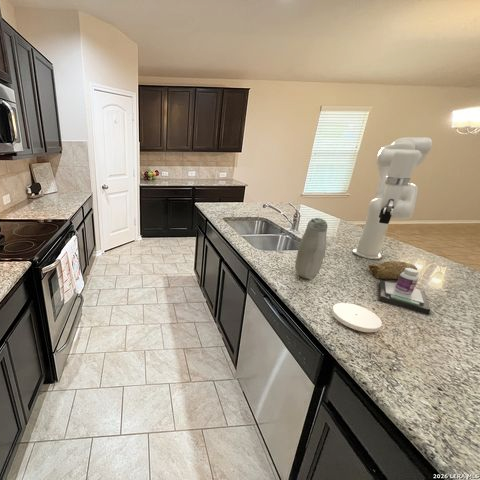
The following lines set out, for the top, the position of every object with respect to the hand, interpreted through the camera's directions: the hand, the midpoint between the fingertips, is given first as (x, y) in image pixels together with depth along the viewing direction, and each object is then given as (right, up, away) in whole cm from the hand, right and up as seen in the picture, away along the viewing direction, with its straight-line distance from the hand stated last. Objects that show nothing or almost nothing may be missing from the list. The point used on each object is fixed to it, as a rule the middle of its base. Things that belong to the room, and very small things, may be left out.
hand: (383, 220), depth 112 cm
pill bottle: (-1, -30, -10) cm, 31 cm away
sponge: (+10, -26, +7) cm, 28 cm away
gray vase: (-32, -26, +6) cm, 41 cm away
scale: (-2, -32, -10) cm, 34 cm away
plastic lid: (-31, -37, -23) cm, 54 cm away
